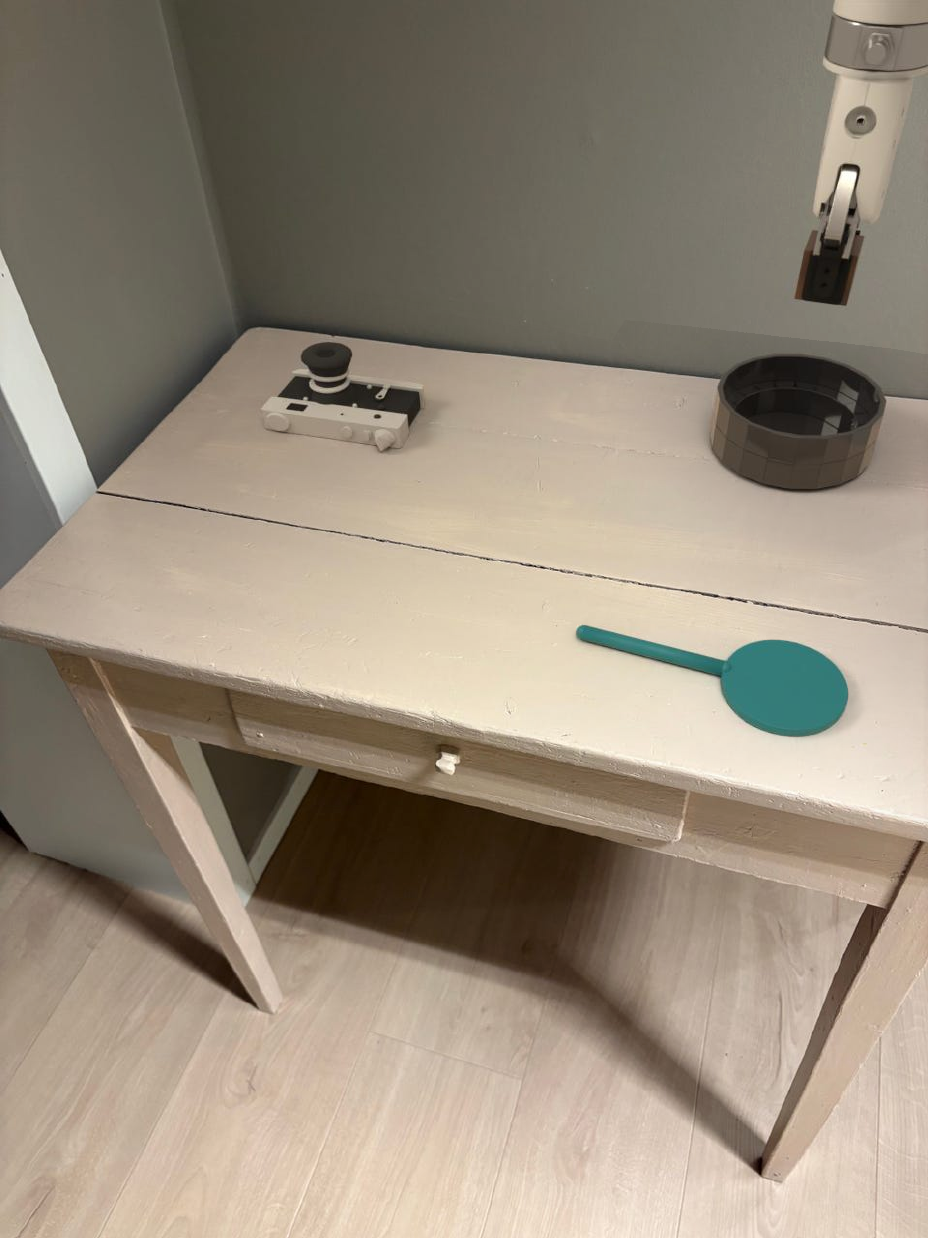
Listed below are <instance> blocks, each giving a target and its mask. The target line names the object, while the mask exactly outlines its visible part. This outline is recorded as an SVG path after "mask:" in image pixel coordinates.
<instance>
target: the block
mask: <svg viewBox="0 0 928 1238" xmlns="http://www.w3.org/2000/svg"><path fill="white" fill-rule="evenodd" d="M817 234H818V229H817V230H816V229H812V230H811V232H810V234H809V237H808V240H807V243H806V245H805V248H804V250H803V255H802V258H801V259H802V260H801V263H800V264H801V265H800V269H799V273H798V279H797V283H796V288H795V294H794V298H793V299H794V300H799V301H804V300H803V299H802V297H801V296H802V291H803V286H804V282H805V277H806V272H807V268H808V263H809V258H810V254H811V251H812V250H813V251H814V247H815V242H816V238H817ZM864 241H865V235H861V234H860V235H855V236H854V240H853V244H852V248H851V252H850V255H853V258H852V262H851V266H850V270H849V274H848V278H847V283H846V287H845V291H844V295H843V299H842V302H841V303H840V304H839V305H838V306H844V307H847V305H848V302H849V299H850V295H851V291H852V288H853V285H854V281H855V278H856V277H855V276H856V273H857V269H858V265H859V262H860V261H859V260H860V257H861V253H862V249H863V244H864ZM844 247H845V246H844Z"/></svg>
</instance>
